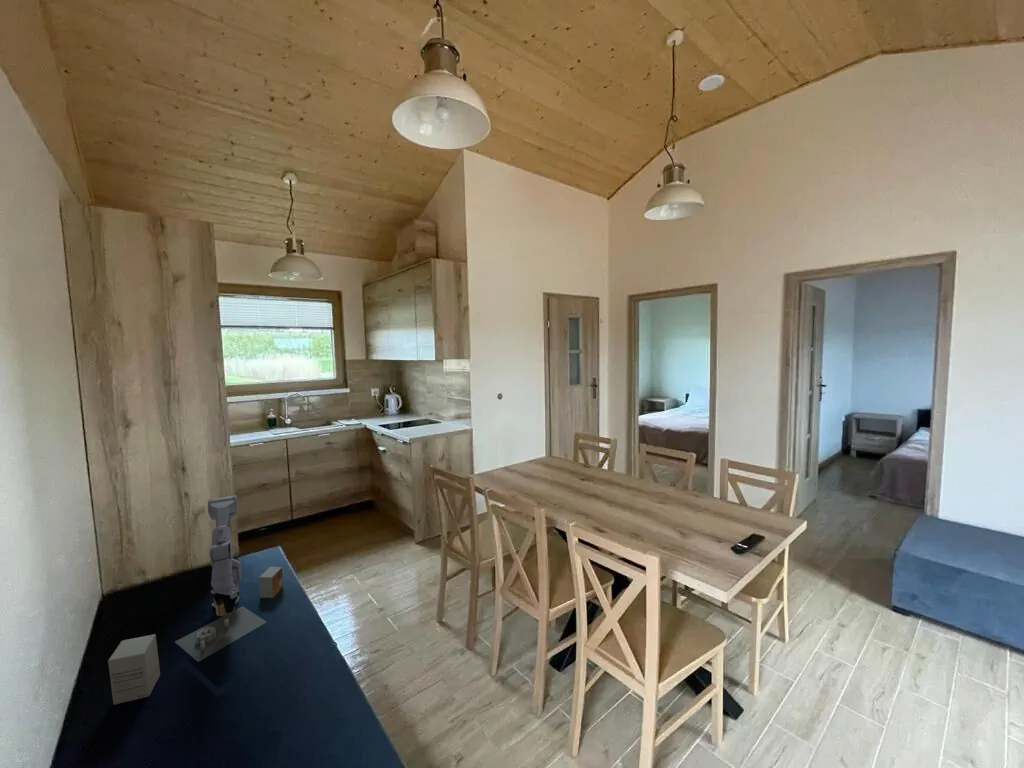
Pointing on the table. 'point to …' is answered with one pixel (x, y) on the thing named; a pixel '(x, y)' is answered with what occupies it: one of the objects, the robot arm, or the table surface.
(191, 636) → the gear board
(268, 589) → the small box
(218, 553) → the robot arm
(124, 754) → the table surface
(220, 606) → the brass gear
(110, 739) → the table surface
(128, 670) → the supplement box
